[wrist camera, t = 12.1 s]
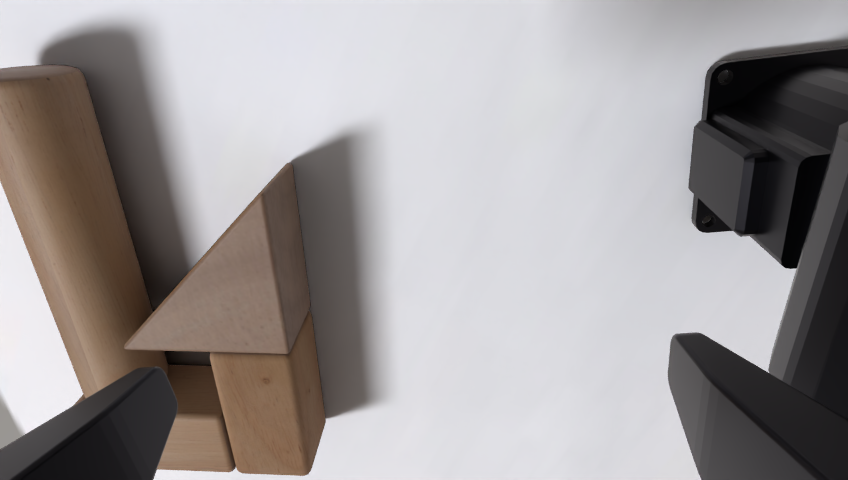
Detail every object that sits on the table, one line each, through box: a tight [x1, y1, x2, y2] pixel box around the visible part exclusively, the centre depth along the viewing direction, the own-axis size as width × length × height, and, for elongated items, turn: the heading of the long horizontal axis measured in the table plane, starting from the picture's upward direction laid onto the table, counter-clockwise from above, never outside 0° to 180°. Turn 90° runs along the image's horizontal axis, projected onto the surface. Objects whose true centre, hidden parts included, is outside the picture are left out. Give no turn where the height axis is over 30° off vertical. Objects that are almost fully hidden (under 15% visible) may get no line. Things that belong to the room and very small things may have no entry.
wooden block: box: [0, 65, 326, 476], centre depth 23 cm, size 4×11×18 cm
